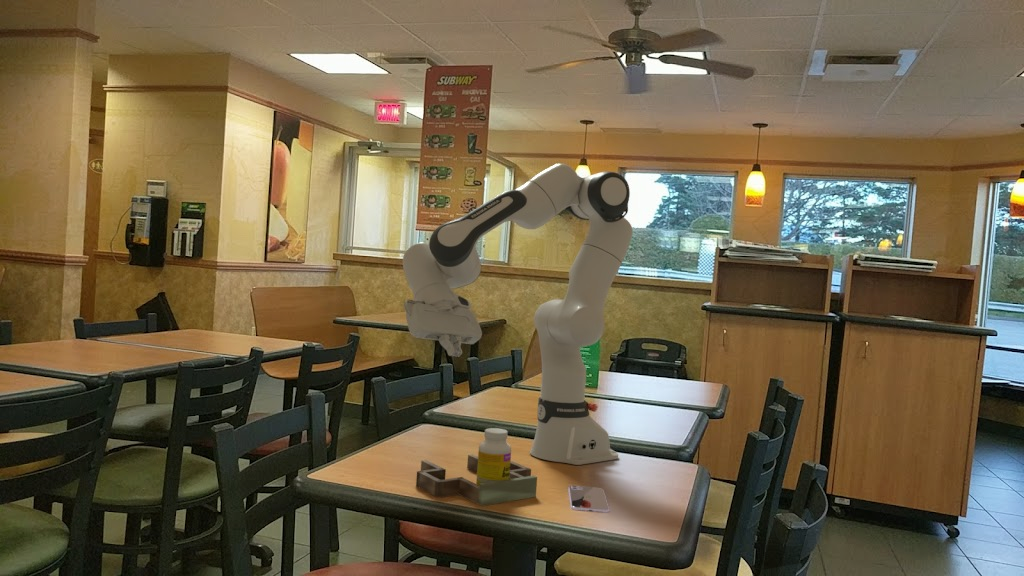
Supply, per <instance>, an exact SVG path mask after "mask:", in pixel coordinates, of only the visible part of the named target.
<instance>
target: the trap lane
mask: <svg viewBox="0 0 1024 576" xmlns="http://www.w3.org/2000/svg"><path fill="white" fill-rule="evenodd" d="M420 461H421V462H420V470H417V471H416V479H415V480H416V482H415V483H416V484H415V486H416V487H417V486H418V488H419V487H420V488H419V489H421V490H423V491H424V492H427V493H429V494H430V495H432V496H434V497H435V498H442V497H443V498H444V497H449V496H457V495H459V496H462V497H464V498H466V499H467V500H469V501H471V502H473V503H475V504H477V505H479V506H481V507H484V506H490V505H495V504H496V505H497V504H501V503H507V502H513V501H518V500H524V499H530V498H535V497H537V486H538V476H536V475H532V468H530V467H527V466H524V465H522V464H519V463H517V462H515V461H512V460H510V476H509V479H507V480H500V481H494V482H487V483H480V485H477V484H476V483H475V482H473V481H471V480H469V479H467V478H464V477H462V476H461V477H453V478H446V474H447V473H446V471H447V470H446V468H444V467H442V466H440V465H437V464H435V463H433V462H431V461H430V460H427V459H424V460H420ZM477 466H478V456H477V455H474V454H467V467H466V468H467V469H468V470H470V471H472V472H475V473H477Z"/></svg>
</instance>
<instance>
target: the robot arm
mask: <svg viewBox="0 0 1024 576" xmlns="http://www.w3.org/2000/svg"><path fill="white" fill-rule="evenodd" d="M630 193H631V192H630V186H629V183H628V181H627V179H626V177H624V176H623V175H621V174H620V173H618V172H615V171H607V170H606V171H601V172H597V173H594V174H590V175H588V176H585V177H581V176H579V175H578V174H577V172H576V170H575V169H574V168H572V167H571V165H570V166H569V165H568V164H567V163H555V164H554V165H552V166H549V167H547V168H545V169H544V170H542V171H540V172H538V173H537V174H536V175H534V176H532V177H531V178H530V179H528V180H527V181H526V182H525V183H523V184H522V185H520V186H519V187H517V188H515V189H509V190H506V191H504V192H501V193H499V194H498V195H496V196H495V197H492V198H491V199H489V200H487V201H486V202H484V203H482V204H481V205H479V206H477V208H474V209H473V210H471V211H469V212H468V213H466V214H465V215H463V216H461V217H458V218H456V219H453V220H450V221H447V222H443V224H441V225H439V226H438V227H437V228H435V230H433V232H432V234H431V235H430V238H429V242H428V243H427V242H423V241H421V242H417V243H415V244H413V245H411V246H409V248H407V250H406V251H405V252H404V254H403V257H402V269H403V272H404V276H405V279H406V282H407V284H408V287H409V289H410V290H411V291H412V293H413V299H407V300H405V302H404V303H403V308H404V310H405V319H406V324H407V327H408V331H409V333H410V335H412V337H413V338H415V339H423V340H425V339H426V340H433V341H438V342H439V344H440V346H441V347H442V348H444V350H445V351H446V352H447V355H448V356H449V357H457V358H458V357H461V356H462V355H463V350H462V348H461V346H462V344H466V345H467V344H469V345H474V344H475V343H477V342H478V341H479V340H480V339H482V336H483V331H482V328H481V326H480V323H479V321H478V319H477V316H476V315H475V313H474V312H473V310H471V308H472V303H471V302H470V300H468V299H466V298H464V297H462V296H461V295H459V294H458V293H456V292H455V291H453V290H456V289H459V288H463V287H465V286H469V285H471V284H472V283H474V282H475V281H476V280H478V278H479V276H480V274H481V272H482V262H481V261H480V256H479V254H478V251H477V243H478V241H479V240H480V239H481V238H482V237H484V236H486V235H487V234H488V233H490V232H491V231H493V230H494V229H496V228H497V227H499V226H501V225H502V224H504V223H507V222H513V223H515V224H516V226H518V227H520V228H522V229H527V230H537V229H539V228H540V227H542V226H544V225H546V224H547V223H548V222H550V221H551V220H552V219H554V218H555V217H556V216H557V215H559V214H560V213H561V212H562V211H563V210H565V209H566V210H567V211H568V212H569V213H570V214H571V215H572V216H573V217H576V218H577V219H580V220H583V221H589V229H588V232H587V236H586V237H585V239H584V241H583V243H582V245H581V246H580V249H579V250H578V253H577V255H576V256H575V259H574V261H573V263H572V264H571V266H570V269H569V271H568V279H569V281H568V284H567V285H568V286H567V290H566V294H565V296H564V298H563V299H560V298H555V299H550V300H548V301H546V302H544V303H542V304H540V305H539V306H538V308H537V309H536V310H535V313H534V316H533V325H534V327H535V329H536V331H537V335H538V343H539V349H540V350H539V351H540V358H541V382H540V383H541V384H540V396H539V397H538V402H537V424H536V430H535V435H534V439H533V442H532V445H531V449H530V451H529V454H530V455H531V456H533V457H535V458H537V459H542V460H545V461H551V462H554V463H555V462H556V463H566V464H570V465H577V466H581V465H586V464H593V463H599V462H606V461H613V460H618V459H619V453H618V452H617V451H615V450H613V449H612V448H611V446H610V444H611V443H610V437H609V433H608V431H607V430H606V429H605V428H604V427H603V426H602V425H600V424H599V423H598V422H597V421H596V420H595V419H594V418H593V417H592V416H591V414H590V411H591V412H593V413H594V412H597V411H598V408H599V406H598V404H596V403H593V402H590V403H589V402H588V401H586V400H585V398H586V397H585V394H586V383H587V382H586V381H587V379H586V378H587V369H586V366H585V364H584V362H583V359H582V358H583V357H582V354H581V348H584V347H589V346H592V345H594V344H596V343H598V341H599V340H601V338H602V336H603V334H604V333H605V327H606V324H605V318H604V310H605V306H606V300H607V297H608V294H609V291H610V288H611V287H612V284H613V282H614V280H615V278H616V276H617V273H618V272H619V269H620V267H621V265H622V263H623V262H624V259H625V257H626V255H627V252H628V249H629V247H630V243H631V239H632V236H633V227H632V224H631V223H630V222H629V220H627V219H626V218H625V217H626V216H627V215H628V211H629V201H630V195H631V194H630Z"/></svg>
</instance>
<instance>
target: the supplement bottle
mask: <svg viewBox="0 0 1024 576" xmlns="http://www.w3.org/2000/svg"><path fill="white" fill-rule="evenodd" d="M483 434H484V441H482V442H480V444H478V451H477V453H478V454H477V455H478V456H477V457H478V466H477V472H476V481H475V482H476V483H475V484H477V485H480V483H487V482H494V481H500V480H507V479H509V476H510V461H512V460H511V458H512V446H511V445H510V444H509V443H508V442H507V439H508V430H507V429H505V428H496V427H494V428H493V427H490V428H486V429H484V433H483Z"/></svg>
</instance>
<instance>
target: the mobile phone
mask: <svg viewBox="0 0 1024 576" xmlns="http://www.w3.org/2000/svg"><path fill="white" fill-rule="evenodd" d="M567 489H568V497H569V506H570V509H571V510H573V511H582V512H594V513H596V512H597V513H610V507H609V504H608V501H607V496H606V493H605V490H604V489H603V488H602V487H594V486H593V487H592V486H584V485H583V486H581V485H569V486H568V488H567Z"/></svg>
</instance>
